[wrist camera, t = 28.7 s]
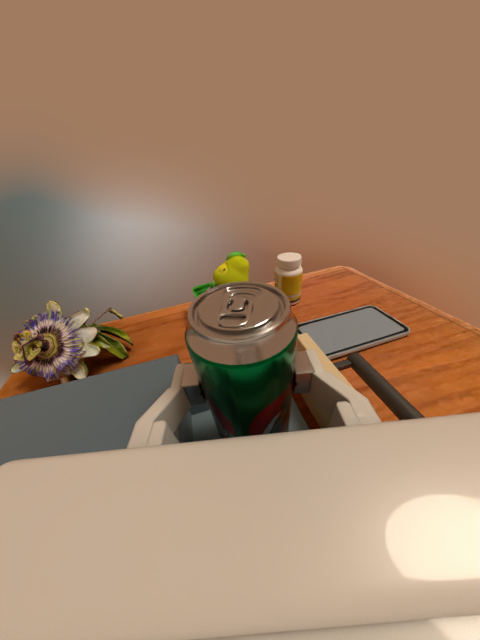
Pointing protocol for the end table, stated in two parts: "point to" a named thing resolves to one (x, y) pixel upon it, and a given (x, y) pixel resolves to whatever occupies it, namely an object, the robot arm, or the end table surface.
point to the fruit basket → (227, 273)
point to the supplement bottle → (289, 276)
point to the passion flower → (63, 344)
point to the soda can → (244, 356)
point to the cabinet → (83, 412)
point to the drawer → (309, 398)
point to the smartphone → (353, 330)
